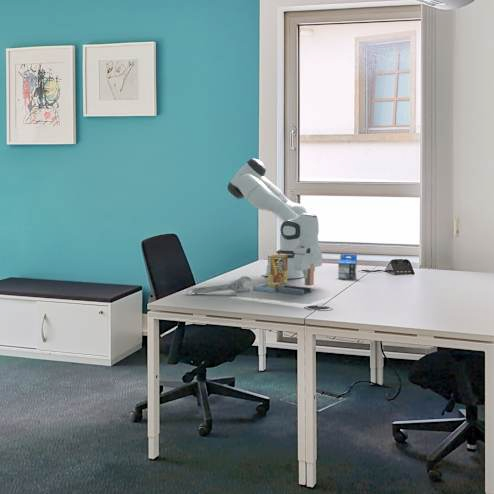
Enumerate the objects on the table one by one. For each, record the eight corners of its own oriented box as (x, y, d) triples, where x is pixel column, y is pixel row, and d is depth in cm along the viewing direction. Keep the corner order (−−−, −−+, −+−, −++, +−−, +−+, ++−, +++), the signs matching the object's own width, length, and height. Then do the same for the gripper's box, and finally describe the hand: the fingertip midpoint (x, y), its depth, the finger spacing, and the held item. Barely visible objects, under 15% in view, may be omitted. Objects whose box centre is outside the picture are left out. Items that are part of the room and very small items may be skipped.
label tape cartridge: (337, 278, 369) (338, 254, 367) (339, 277, 372) (340, 253, 371) (354, 279, 366) (355, 255, 364) (356, 278, 369) (357, 254, 368)
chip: (267, 292, 328) (267, 283, 327) (272, 290, 331) (272, 282, 331) (275, 292, 326) (275, 284, 325) (279, 291, 329) (279, 283, 328)
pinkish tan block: (303, 285, 330) (304, 263, 329) (308, 283, 334) (308, 262, 333) (309, 285, 328) (309, 264, 327) (314, 284, 332) (314, 263, 331)
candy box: (284, 284, 350) (284, 253, 348) (287, 286, 346) (287, 254, 344) (267, 286, 347) (267, 254, 345) (270, 287, 343) (270, 255, 341)
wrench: (187, 300, 326) (253, 292, 327) (187, 301, 324) (253, 293, 325) (185, 283, 325) (251, 275, 326) (185, 284, 324) (251, 275, 324)
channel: (274, 295, 322) (274, 287, 322) (286, 292, 331) (286, 284, 330) (301, 298, 314) (301, 290, 314) (312, 295, 323) (312, 287, 322)
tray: (253, 293, 328) (253, 286, 328) (267, 289, 338) (267, 283, 337) (273, 295, 322) (273, 289, 321) (287, 291, 331) (287, 285, 331)
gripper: (314, 245, 339) (313, 274, 341) (291, 249, 323) (291, 280, 325) (325, 246, 336) (325, 275, 337) (303, 250, 319) (303, 281, 321)
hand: (308, 277), depth 331 cm, fingers closed on pinkish tan block, 3 cm apart
